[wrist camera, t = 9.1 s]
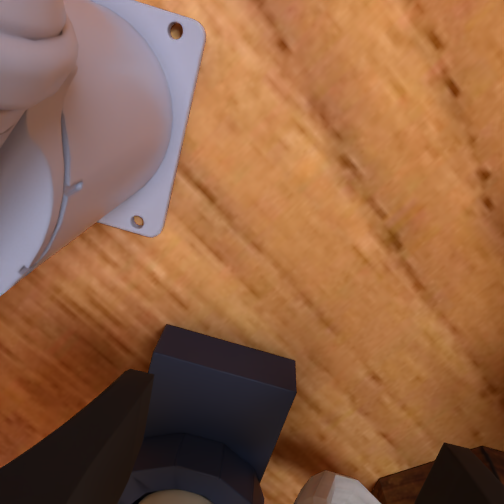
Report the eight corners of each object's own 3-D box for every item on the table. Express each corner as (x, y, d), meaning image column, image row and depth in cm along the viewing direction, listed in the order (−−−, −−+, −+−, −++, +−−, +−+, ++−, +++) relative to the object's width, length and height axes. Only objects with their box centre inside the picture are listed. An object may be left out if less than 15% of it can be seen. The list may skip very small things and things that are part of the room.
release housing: (117, 485, 23) (86, 561, 20) (156, 320, 20) (126, 377, 16) (242, 518, 24) (235, 600, 20) (305, 362, 20) (310, 427, 16)
